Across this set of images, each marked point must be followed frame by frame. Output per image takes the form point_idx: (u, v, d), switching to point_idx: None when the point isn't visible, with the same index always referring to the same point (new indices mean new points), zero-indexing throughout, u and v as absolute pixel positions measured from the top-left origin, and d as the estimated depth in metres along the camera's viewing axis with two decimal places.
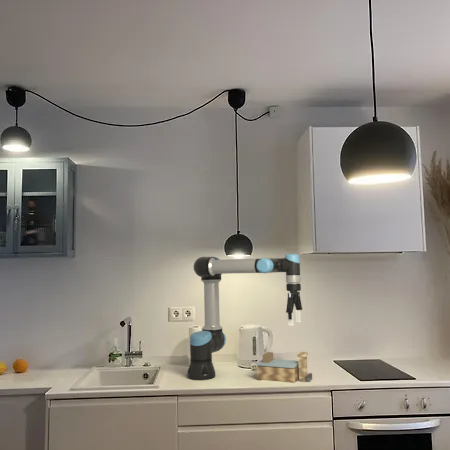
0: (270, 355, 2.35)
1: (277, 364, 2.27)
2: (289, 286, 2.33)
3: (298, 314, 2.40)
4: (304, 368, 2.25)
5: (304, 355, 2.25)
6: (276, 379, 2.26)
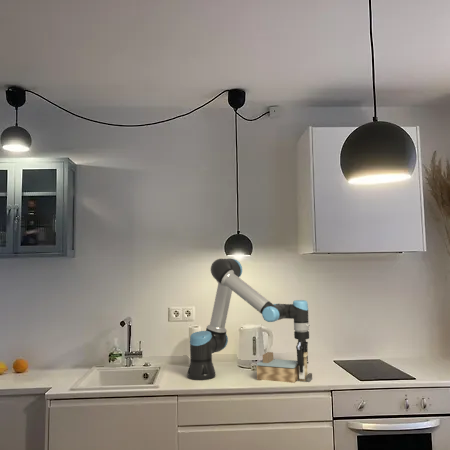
0: (270, 355, 2.35)
1: (277, 364, 2.27)
2: (297, 334, 2.26)
3: None
4: None
5: (304, 355, 2.25)
6: (276, 379, 2.26)
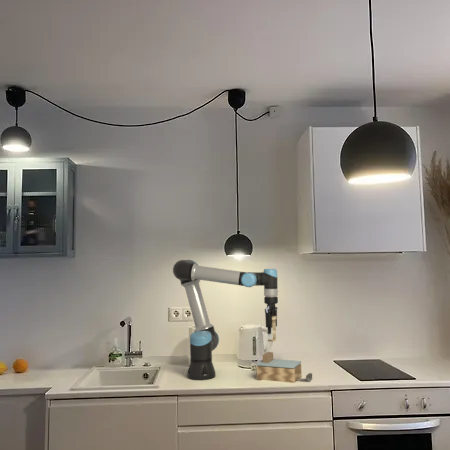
0: (270, 355, 2.35)
1: (277, 364, 2.27)
2: (266, 299, 2.47)
3: None
4: None
5: (272, 318, 2.46)
6: (276, 379, 2.26)
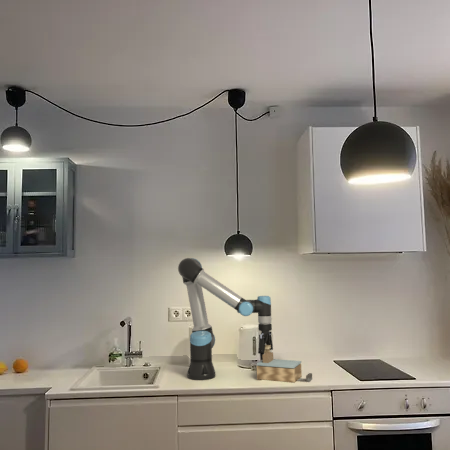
0: (270, 355, 2.35)
1: (277, 364, 2.27)
2: (260, 326, 2.51)
3: None
4: None
5: (267, 348, 2.50)
6: (276, 379, 2.26)
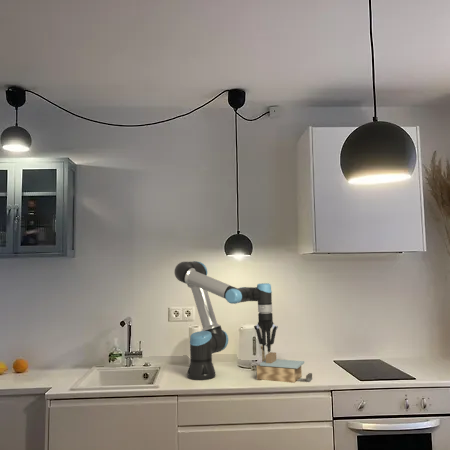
0: (273, 355, 2.34)
1: (280, 364, 2.27)
2: None
3: None
4: None
5: None
6: (276, 379, 2.26)
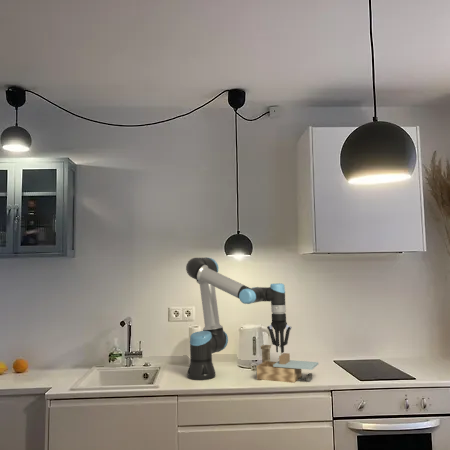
0: (287, 356, 2.31)
1: (294, 365, 2.23)
2: None
3: None
4: (267, 359, 2.50)
5: (267, 348, 2.50)
6: (276, 379, 2.26)
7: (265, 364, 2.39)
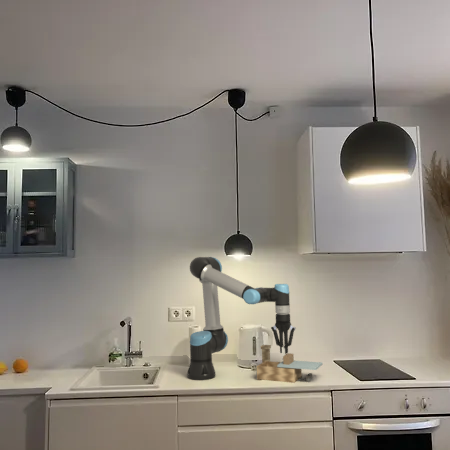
0: (291, 356, 2.30)
1: (298, 366, 2.22)
2: None
3: None
4: (267, 359, 2.50)
5: (267, 348, 2.50)
6: (276, 379, 2.26)
7: (265, 364, 2.39)
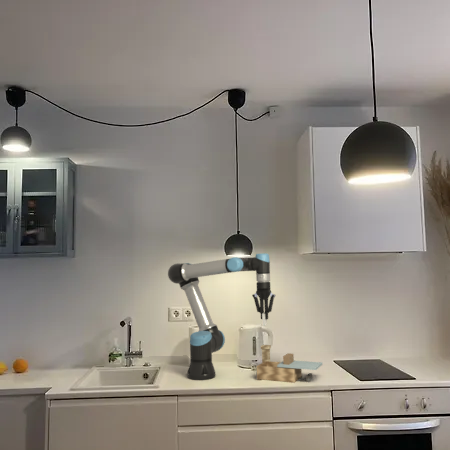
0: (291, 356, 2.30)
1: (298, 366, 2.22)
2: None
3: None
4: (267, 359, 2.50)
5: (267, 348, 2.50)
6: (276, 379, 2.26)
7: (265, 364, 2.39)
